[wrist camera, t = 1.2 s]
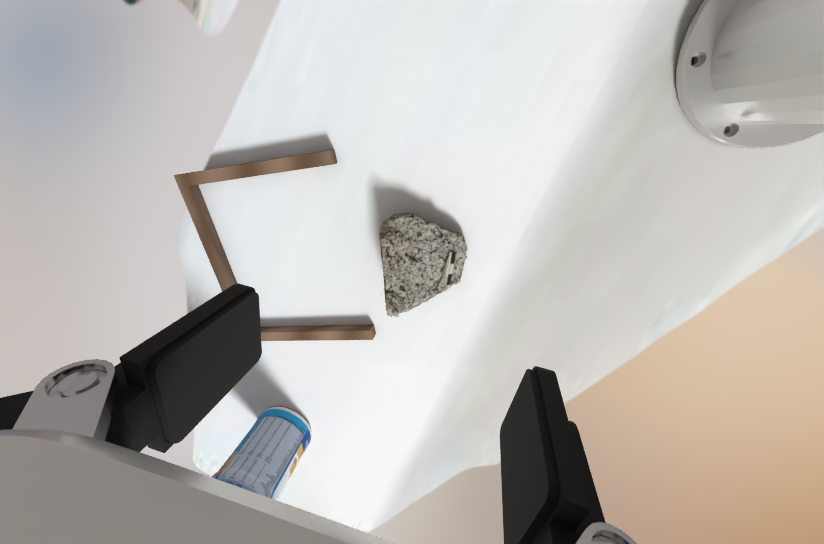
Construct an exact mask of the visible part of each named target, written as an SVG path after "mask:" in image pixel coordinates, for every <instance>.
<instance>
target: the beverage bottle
mask: <svg viewBox="0 0 824 544" xmlns="http://www.w3.org/2000/svg"><path fill="white" fill-rule="evenodd" d="M311 436H312V433H311V429H310V426H309V424H308V423H307V421H306V420H305V419H304V418H303V417H302V416H301V415H299V414H298V413H296V412H295V411H293V410H290V409H288V408H284V407H272V408H269V409H267V410H265V411H264V412H263V413H262V414H261V415H260V416H259V418H258V419H257V421H256V422H255V424H254V426H253V427H252V428H251V430H250V431H249V432H248V434H247V435H246V436H245V438H244V439H243V440H242V441H241V443H240V444H239V445H238V447H237V448H236V449H235V451H234V452H233V453H232V454H231V456H230V457H229V458H228V460H227V461H226V462H225V464H224V465H223V466H222V467H221V469H220V470H219V471H218V472H217V473H215V474H214V475H213V476H212V478H215V479H217V480H220V481H223V482H226V483H229V484H232V485H234V486H237V487H240V488H243V489H246V490H248V491H251V492H254V493H257V494H260V495H262V496H265V497H268V498H271V499H274V500H278V499H279V497H280V495H281V493H282V491H283V489H284V487H285V485H286V483H287V482H288V480H289V478H290V476H291V474H292V472H293V470H294V469H295V467H296V465H297V463H298V461H299V459H300V457H301V456H302V454H303V452H304V451H305V449H306V448H307V446H308V444H309V443H310V440H311Z"/></svg>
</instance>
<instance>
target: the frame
mask: <svg viewBox="0 0 824 544" xmlns="http://www.w3.org/2000/svg"><path fill="white" fill-rule="evenodd" d="M336 163H337V160H336V155H335V151H334V150H328V151H322V152H315V153H309V154H303V155H297V156H291V157H284V158H278V159H272V160H266V161H259V162H253V163H247V164H241V165H235V166H228V167H222V168H216V169H210V170H204V171H198V172H191V173H185V174H179V175H174V177H175V179H176V182H177V184H178V187H179V189H180V191H181V194H182V196H183V198H184V201H185V203H186V206H187V208H188V210H189V213H190V215H191V218H192V220H193V222H194V225H195V227H196V230H197V232H198V234H199V237H200V239H201V241H202V244H203V246H204V249H205V251H206V253H207V256H208V258H209V260H210V263H211V265H212V268H213V270H214V272H215V275H216V277H217V279H218V282H219V284H220V287H221V289H222V291H224V290H226V289H227V288H229V287H230V286H232V285H234V284H237V282H236V280H235V277H234V275H233V272H232V270H231V267H230V265H229V262H228V260H227V257H226V255H225V252H224V249H223V247H222V244H221V242H220V239H219V237H218V234H217V232H216V229H215V227H214V224H213V222H212V219H211V217H210V214H209V212H208V209H207V207H206V204H205V202H204V199H203V197H202V194H201V191H200V189H199V186H198V184H204V183H211V182H218V181H225V180H231V179H238V178H245V177H251V176H258V175H265V174H271V173H278V172H285V171H291V170H298V169H305V168H312V167H318V166H325V165H332V164H336ZM260 329H261V341H293V340H373V338H374V336H375V334H376V332H375V328H374V325H340V326H294V327H260Z"/></svg>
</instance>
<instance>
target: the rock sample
mask: <svg viewBox="0 0 824 544" xmlns="http://www.w3.org/2000/svg"><path fill="white" fill-rule="evenodd" d="M380 227H381V229H380V234H379V235H380V242H381V254H382V263H383V272H384V286H385V301H386V310H387V313H388V314H387V315H388V316H389V315H390V316H391V317H392V315H394V316H395V317H398V314H400V313H402V312H406V311H409V310H411V309H412V308H414V307H416V306H419V305H420V304H421V303H423V302H427V301H428V300H429V299H431V298H432V297H434V296H435V295H437V294H438V293H441V292H443V291H445V290H447V289H448V288H450V287H451V286H452V285H454V284H457V283H459V282H460V279H461V275H462V271H463V266H464V261H465V259H466V251H467V246H466V244H465V240H464V239H463V238H464V237H463V236H462V235H460V234H459V233H454V232H451V231H449V230H444V229H442V228H440V227H439V226H438V225H437V224H436V223H425V222H424V221H423V220H422V219H421V218H420V217H419V216H417V215H415V214H409V213H403V214H394V215H392V216H391V217H390V218H389V219H387V220H386V221H384V222H383V224H382V226H380Z"/></svg>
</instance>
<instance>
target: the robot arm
mask: <svg viewBox="0 0 824 544" xmlns="http://www.w3.org/2000/svg"><path fill="white" fill-rule="evenodd" d="M692 58H693V59H694V63H693V65H691V59H692ZM676 89H677V93H678V98H679V102H680V106H681V108H682V110H683V112H684V114H685V116H686V118H687V120H688V121H689V122H690V123H691V124H692V125H693V126H694V128H695V129H696V130H697V131H698V132H700V133H701V134H703V135H704V136H706V137H707V138H709V139H710V140H713V141H716V142H718V143H721V144H724V145H728V146H734V147H741V148H770V147H778V146H785V145H788V144H792V143H796V142H799V141H803V140H806V139H808V138H811V137H813V136H815V135H818V134H820V133H823V132H824V0H704V1H703V3H702V4H701V5H700V7H699V9H698V11H697V13H696V15H695V16H694V18H693V20H692V22H691V24H690V25H689V27H688V30H687V33H686V35H685V38H684V41H683V43H682V46H681V49H680V54H679V59H678V64H677V69H676ZM725 128H726V131H725V132H724V130H725ZM261 353H262V347H261V329H260V310H259V296H258V294H257V293H256V292H255V289H254V288H252V287H249V286H245V285H242V284H234V285H232V286H230V287H229V288H227V289H226V290H224V291H223V292H221V293H220V294H218V295H216V296H215V297H213V298H212V299H210V300H209V301H207V302H205V303H204V304H202V305H201V306H199V307H198V308H196V309H194V310H193V311H191V312H190V313H188V314H187V315H185V316H184V317H182V318H180V319H179V320H178V321H176V322H174V323H173V324H171V325H170V326H168V327H166V328H165V329H163V330H162V331H160V332H159V333H157V334H156V335H154V336H152V337H151V338H149V339H147V340H146V341H144V342H143V343H141V344H140V345H138V346H137V347H135V348H133V349H132V350H130V351H129V352H127V353H126V354H124V355H122V356H121V357H120V360H121V363H119V364H118V365H116V366H115V367H114V366H113V364H112V363H110V362H108V361H106V360H98V359H95V360H85V361H80V362H76V363H72V364H70V365H67V366H64V367H62V368H60V369H58V370H56V371H54V372H52V373H50V374H49V375H48V376H46V377H45V378H44V379H43V380H41V382H40V383H39V384H38V386H36V388H35V390H34V391H31V392H26V393H21V394H16V395H12V396H7V397H3V398H0V544H396V543H393V542H390V541H387V540H385V539H382V538H379V537H376V536H374V535H371V534H368V533H365V532H363V531H360V530H357V529H354V528H352V527H349V526H346V525H343V524H341V523H338V522H335V521H332V520H330V519H327V518H324V517H321V516H318V515H316V514H313V513H310V512H307V511H304V510H302V509H299V508H296V507H293V506H291V505H288V504H285V503H282V502H279V501H277V500H274V499H271V498H268V497H265V496H262V495H260V494H257V493H254V492H251V491H248V490H246V489H243V488H240V487H237V486H234V485H232V484H229V483H226V482H223V481H220V480H217V479H215V478H212V477H209V476H206V475H203V474H200V473H197V472H195V471H192V470H189V469H186V468H183V467H180V466H177V465H174V464H172V463H169V462H166V461H163V460H160V459H157V458H155V457H152V456H149V455H145V454H143V453H140V451H141V450H142V449H143V448H144V447H146V445H148V447H149V448H151V449H154V450H157V451H160V452H163V453H165V452H166V451H167V450H168V449H169V448H170V447H171V446H172V445H173V444H174V443H179V442H180V441H182V440H183V439H184V438H185V437H186V436H187V435H188V434H189V433H190V432H191V430H193V428H194V427H195V426H196V425H197V424H198V423H199V422H200V421H201V420H202V419H203V418H204V417H205V416H206V415H207V414H208V413H209V412H210V411H211V410H212V409H213V408H214V407H215V406H216V405H217V403H218V402H219V401H220V400H221V399H222V398H223V397H224V396H225V395H226V394H227V393H228V392H229V391H230V390H231V389H232V388H233V387H234V386H235V385H236V384H237V383H238V382H239V381H240V380H241V378H242V377H243V376H244V375H245V374H246V373H247V372H248V371H249V370H250V369H251V368H252V367H253V366H254V365H255V364H256V363H257V362H258V360H259V359H260V357H261ZM500 451H501V476H502V501H503V525H504V526H503V527H504V544H636V542H635V541H634V540H633V539H632V538H630V537H629V536H628V535H627V534H625V533H624V532H623V531H622V530H620V529H618V528H616V527H615V526H613V525H611V524H607V523H605V520H604V516H603V513H602V509H601V506H600V503H599V499H598V496H597V492H596V489H595V486H594V482H593V479H592V476H591V472H590V469H589V465H588V462H587V458H586V455H585V451H584V448H583V445H582V441H581V438H580V434H579V431H578V429H577V426H576V424H575V423H574V422H571V421H568V418H567V414H566V411H565V407H564V403H563V399H562V396H561V392H560V388H559V385H558V381H557V377H556V374H555V372H554V371H551V370H548V369H544V368H541V367H537V366H535V367H534V368H533V369H532V370H530V369H527V370H526V372H525V374H524V376H523V379H522V381H521V383H520V385H519V388H518V390H517V392H516V394H515V396H514V399H513V401H512V403H511V405H510V408H509V410H508V412H507V414H506V416H505V419H504V421H503V423H502V426H501V430H500Z"/></svg>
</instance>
